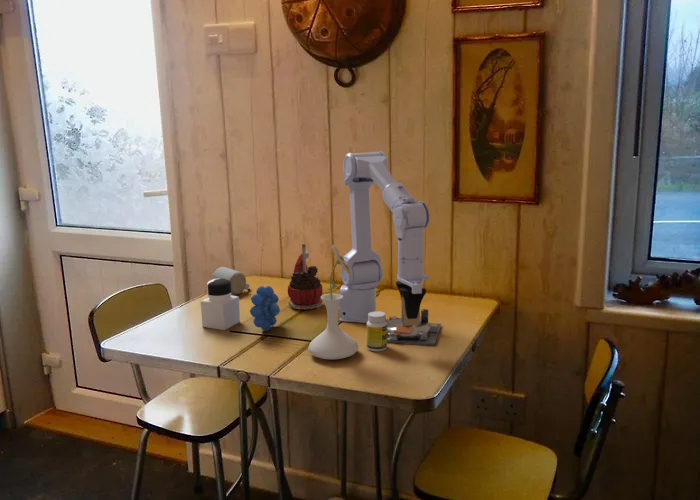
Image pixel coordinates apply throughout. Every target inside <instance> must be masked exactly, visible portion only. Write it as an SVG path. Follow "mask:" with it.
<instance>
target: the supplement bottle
mask: <svg viewBox="0 0 700 500" xmlns="http://www.w3.org/2000/svg"><path fill="white" fill-rule="evenodd" d="M386 318H387V317H386V313H385V312H383V311H379V310H378V311H377V310H376V311H375V312H370V313H369V314H368V320H369V321H368V322H367V323H366V348H367V350H369V351H371V352H383V351H385V350H386V349H387V348H388V342H387V322H386V321H385V320H387V319H386Z"/></svg>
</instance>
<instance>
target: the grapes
mask: <svg viewBox="0 0 700 500" xmlns="http://www.w3.org/2000/svg"><path fill="white" fill-rule="evenodd" d="M255 292H256V293H255V294H253V295H252V296H251V298H250V300H251V303H252V304H253V306H252V307H251V308H250V310H249V312H250V316H252V317H253V324H254V326H255V327H256V328H261V330H262V331H265V330H266V331H268V330H270V328H271V327H273V326H275V325H276V323H277V322H278V320H277V318H276V316H278V315H279V314H280V312H281V308H280V306H279V305H278V302H279V301H280V300H279V296H278V295H277V294H276V293H275V290H274V288H272V286H269V285H267V286H263V285H261V286H259V287H258V288H256V291H255Z"/></svg>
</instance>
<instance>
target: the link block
mask: <svg viewBox="0 0 700 500" xmlns="http://www.w3.org/2000/svg"><path fill="white" fill-rule="evenodd" d="M420 317H421V307H420V308H419V313H418V317H417V319H408V318H407V314H406V308H405V302H404V298H403V295H402V300H401V318H402V322H403V324H404V326H407V325H420Z"/></svg>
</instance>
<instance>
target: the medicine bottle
mask: <svg viewBox="0 0 700 500" xmlns="http://www.w3.org/2000/svg"><path fill="white" fill-rule="evenodd" d="M206 290H207V298H205V299H202V300H200V309H201V312H200V313H201V324H202V325H201V326H202V327H203V328H208V329H214V330H219V331H226V330H228V329H230V328H231V327H234V326H235V325H237V324H239V323H240V322H241V316H240V315H241V314H240V297H239V296H237V295H231V282H230V281H229V280H227V279H213V280H212V279H211V280H209V281H208V282H207V283H206Z"/></svg>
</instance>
